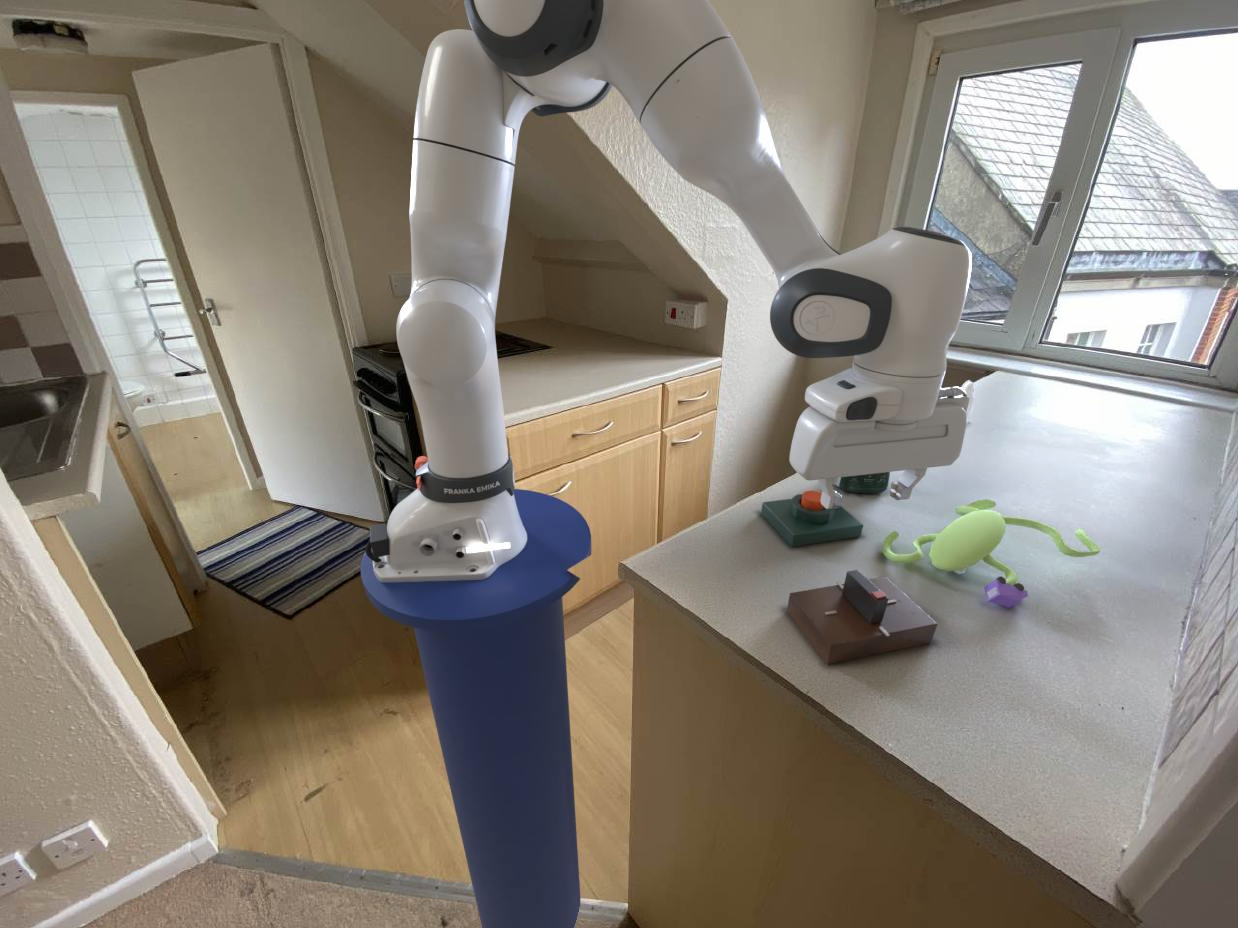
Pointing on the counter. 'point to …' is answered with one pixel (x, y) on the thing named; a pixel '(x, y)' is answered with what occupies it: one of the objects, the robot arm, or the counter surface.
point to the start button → (812, 500)
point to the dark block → (865, 596)
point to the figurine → (982, 547)
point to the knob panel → (858, 622)
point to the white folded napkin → (969, 389)
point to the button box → (809, 522)
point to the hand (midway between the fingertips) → (864, 501)
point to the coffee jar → (864, 483)
